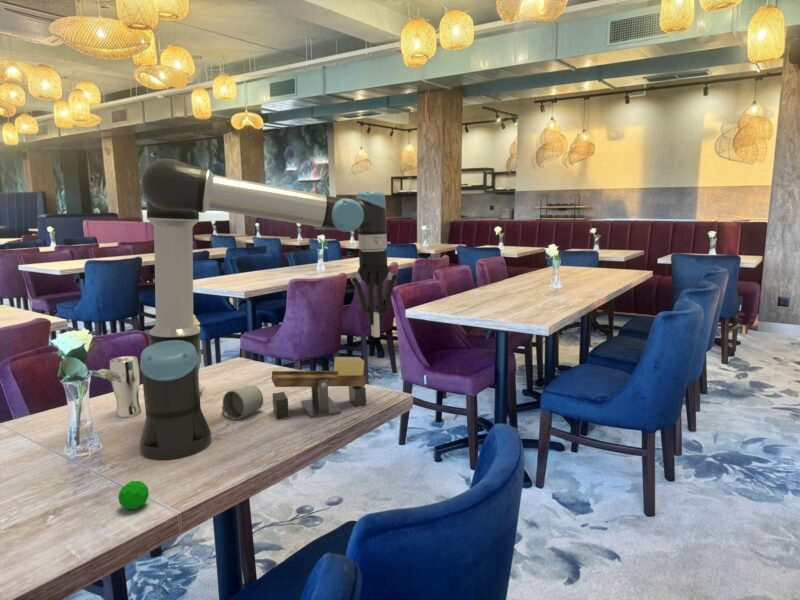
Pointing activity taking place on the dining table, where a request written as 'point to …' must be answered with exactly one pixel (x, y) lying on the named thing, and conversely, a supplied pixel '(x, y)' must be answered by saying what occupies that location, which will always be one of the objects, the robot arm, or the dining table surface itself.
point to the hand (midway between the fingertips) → (375, 336)
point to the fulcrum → (318, 401)
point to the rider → (348, 367)
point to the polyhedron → (133, 495)
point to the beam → (313, 379)
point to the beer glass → (126, 386)
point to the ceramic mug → (242, 402)
